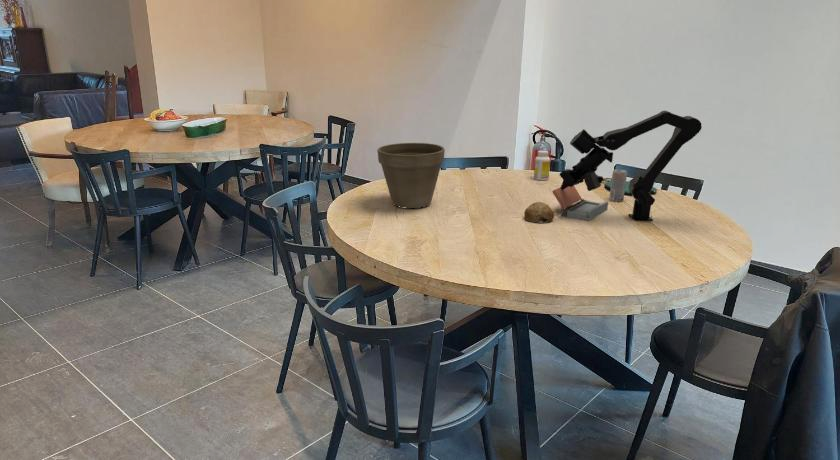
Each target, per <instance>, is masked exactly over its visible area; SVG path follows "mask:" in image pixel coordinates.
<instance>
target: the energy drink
mask: <svg viewBox="0 0 840 460" xmlns="http://www.w3.org/2000/svg"><path fill="white" fill-rule="evenodd" d="M627 176H628V172H627V170H626V169H619V168H618V169H617V168H616V169H613V170H612V174H611V178H612V182H611V181H610V182H611V189H609V190H610V192H609V198H608V199H609V200H610V201H611V202H617V203H621V202H623V201H624V198H625V194H626V193H625V185H626V181H627Z"/></svg>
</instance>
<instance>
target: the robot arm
mask: <svg viewBox="0 0 840 460" xmlns="http://www.w3.org/2000/svg"><path fill="white" fill-rule="evenodd" d="M664 125H669V126H671V127H674V130H673V132H672V135H671V137H670V138H669V140H668V142H667V143H666V144H665V145H664V146H663V148H662V149H661V150H660V151H659V153H658V154H657V155H656V157H655V158H654V159H653V160H652V161H651V163H650V164H649V166H648V167H647V168H646V169H645V170H644V171H643V172H641V173H640V174H639V172H635V174H634V176H633V178H632V179H630V180H629V182H630V184H629V191H630V193H629V194H631V196H632V197H633V199H634V202H633V209H632V213H629V214H628V217H630V218H631V219H632V220H634V221H638V222H640V221H642V222H643V221H648V222H649V221H654V219H653V218H652V217H651V216H650V215H651V210H652V209H651V208H652V206H653V205H654V203H655V201H656V199H655V197H653V196H652V194H651V192H650V191H651V189H652V188H653V187H654V185H655V181H656V179H657V178H658V176H659V175H660V174H661V173H662V171H664V170H665V168H666V166H667V165H668V164H669V163H670V162H671V160H672V159H673V158H674V156H675V155H676V154H677V153H678V152H679V151H680V149H681V148H682V147H683V145H685V144H686V143H688V142H689V141H691V140H692V139H694V137H696V136H697V135H698V134H699V133H700V132H701V130H702V127H703V126H702V123H701V121H700V120H699V119H698V118H696V117H693V116H691V115H687V116H686V115H685V116H682V115H681V116H680V115H678V114H675V113H672V112H670V111H667V110H662V111H660V112H658V113H657V114H656V113H655V114H654V115H652V116H649V117H647V118H645V119H643V120H640V121H639V122H636V123H634V124H632V125H629V126H627V127H623V128H618V129H612V130H609V131H606V132H605V133H604V134H603V135H599V136H596V137H595V136H594V137H593V136H592V135H590V133H588V132H587V130H586V129H585V128H583V129H582V130H581V131H579V132H578V133H577V134H575V135H574V136H573V138H571V140H570V142H569V145H570V146H572V147H573V148H574V149H576V151H578V153H580V154H582V155H584V154H586V155H585V156H583V157H582V158H580V159H579V162H577V163H576V164H575V165H574V164H573V166H571V168H566V169H564V170H562V171H561V172H560V173H559V177H560V178H561V179H562V180H563V181H562V183H561V185H560V187H561V189H562V190H564V189H565V188H567V187H573V186H574V187H575V186H577V185H579V184H582V183H583V182H584V183H585V186H586V189H587V191H588V192H591V191H594V190H596V189H598V188H601V186H602V184H603V183H602V182H604V181H603V180H604V177H603V176H601V175H598V174H596V172H597V170H598V167H600V166H601V164H602V163H604V162H605V161H606V160H607V161H608V162H609V163H613V161H614V160H613V159H614V152H611V151H616V150H618V149H620V148H622V147H623V146H624V145H626V144H628V142H630V141H631V140H632V139H634V138H636V137H639V136H641V135H643V134H645V133H648V132H651V131H653V130H654V129H658V128H659V127H661V126H664ZM608 150H609V151H608Z"/></svg>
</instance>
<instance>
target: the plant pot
mask: <svg viewBox="0 0 840 460" xmlns="http://www.w3.org/2000/svg"><path fill="white" fill-rule="evenodd" d="M445 150H446V149H445V147H444V146H442V145H439V144H435V143H430V142H429V143H427V142H426V143H425V142H401V143H391V144H387V145H382V146H380V147H378V148H377V151H376V152H377V159H378V163H379V164H380V165H381V168H382V173H383V175H384V179H385V182H386V185H387V189H388V192H389V195H390V199H391V202H392V205H394V204H395V205H397V206H400V207H406V208H417V209H422V208H421V207H423V208H427V207H428V205H429V206H430V205H431V204H432V201H433V198H434V194H435V190H436V186H437V181H438V178H439V173H440V170H441V166H442V164H443V163H444V161H445ZM395 205H394V206H395ZM397 206H396V207H397ZM426 206H427V207H426Z"/></svg>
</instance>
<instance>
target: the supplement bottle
mask: <svg viewBox="0 0 840 460" xmlns="http://www.w3.org/2000/svg"><path fill="white" fill-rule="evenodd" d="M550 166H551V159H550V157H549V151H548V150H538V151H537V156H536V157H535V159H534V171H533V179H534V180H536V181H541V182H542V181H548V180H549V179H550V177H549V176H550Z"/></svg>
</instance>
